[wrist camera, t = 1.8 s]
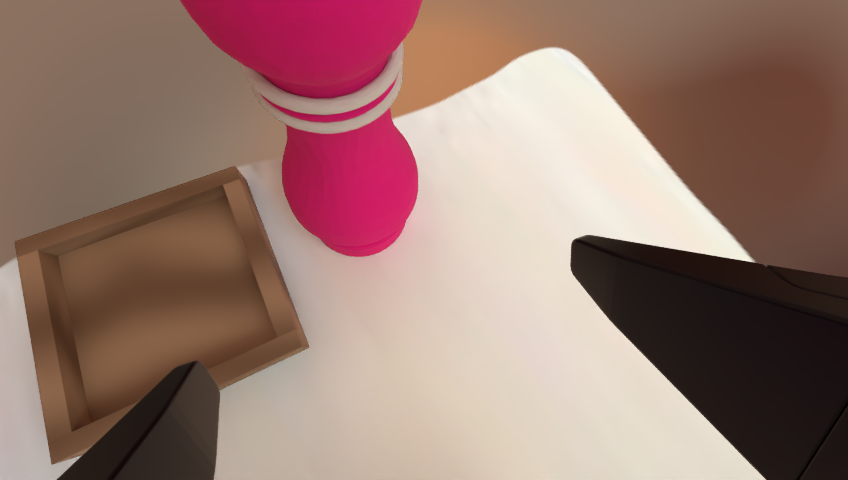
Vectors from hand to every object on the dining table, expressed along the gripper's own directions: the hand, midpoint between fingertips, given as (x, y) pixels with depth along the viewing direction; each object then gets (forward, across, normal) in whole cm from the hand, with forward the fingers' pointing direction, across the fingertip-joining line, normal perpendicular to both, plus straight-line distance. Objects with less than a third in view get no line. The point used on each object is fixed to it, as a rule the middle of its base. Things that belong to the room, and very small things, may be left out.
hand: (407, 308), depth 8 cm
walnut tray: (+14, +12, +5) cm, 19 cm away
